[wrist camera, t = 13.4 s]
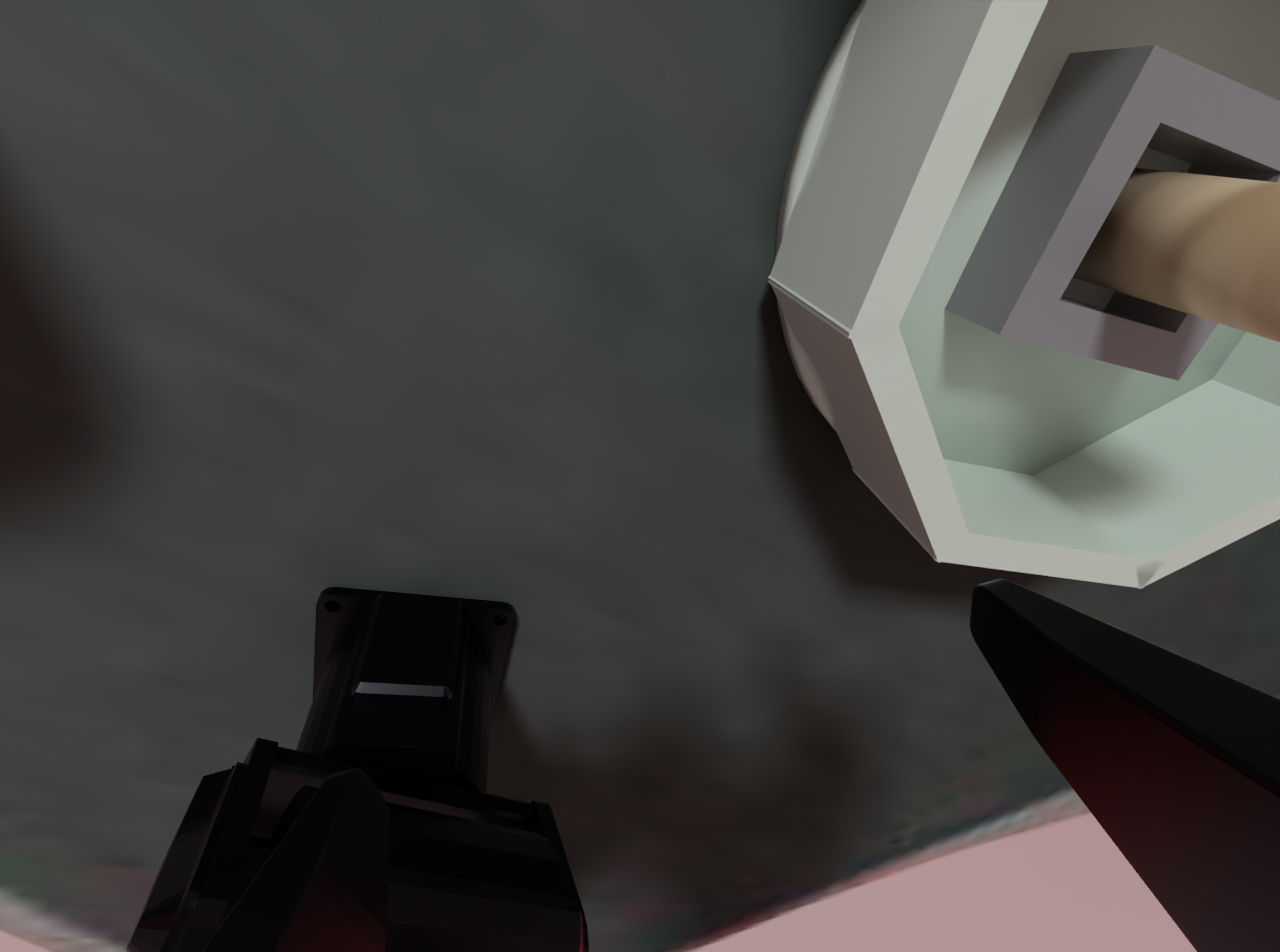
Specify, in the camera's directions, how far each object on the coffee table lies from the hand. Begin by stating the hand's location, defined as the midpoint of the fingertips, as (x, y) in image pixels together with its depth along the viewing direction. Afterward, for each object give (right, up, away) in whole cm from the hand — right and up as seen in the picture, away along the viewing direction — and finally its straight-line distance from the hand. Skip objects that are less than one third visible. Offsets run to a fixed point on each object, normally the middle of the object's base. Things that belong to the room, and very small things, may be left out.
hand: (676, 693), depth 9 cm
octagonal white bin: (+12, +11, +10) cm, 19 cm away
